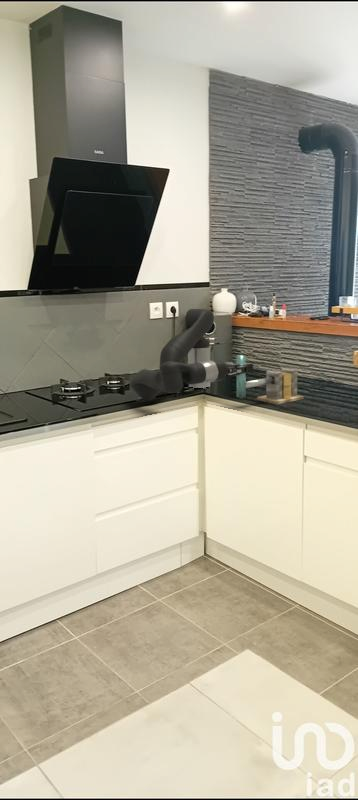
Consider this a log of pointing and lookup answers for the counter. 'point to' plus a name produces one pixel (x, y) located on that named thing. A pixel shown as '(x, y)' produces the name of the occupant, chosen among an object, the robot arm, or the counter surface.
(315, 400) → the counter surface
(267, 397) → the frame
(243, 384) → the shaft
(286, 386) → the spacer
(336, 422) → the counter surface
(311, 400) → the counter surface
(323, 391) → the counter surface
